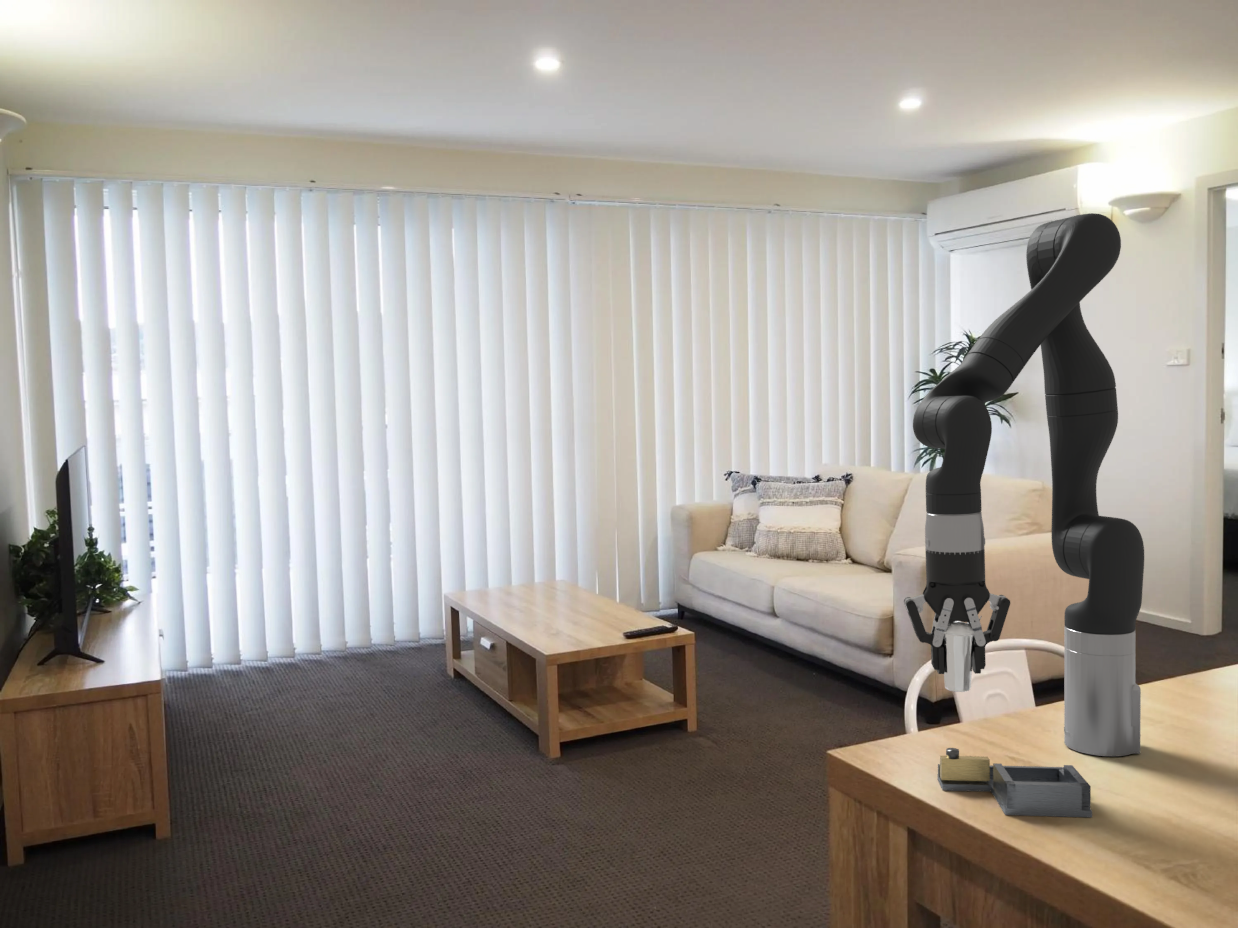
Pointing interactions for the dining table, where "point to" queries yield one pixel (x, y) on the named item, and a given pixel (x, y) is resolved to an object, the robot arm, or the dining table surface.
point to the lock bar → (964, 767)
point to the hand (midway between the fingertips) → (958, 671)
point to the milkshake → (958, 656)
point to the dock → (1032, 790)
